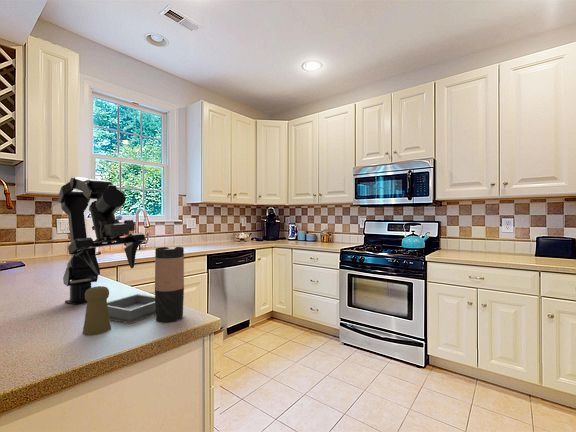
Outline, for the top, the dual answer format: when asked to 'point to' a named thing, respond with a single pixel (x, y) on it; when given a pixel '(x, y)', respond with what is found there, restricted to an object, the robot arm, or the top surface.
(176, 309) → the travel mug
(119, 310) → the gray square tray
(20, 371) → the top surface
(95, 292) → the cork
